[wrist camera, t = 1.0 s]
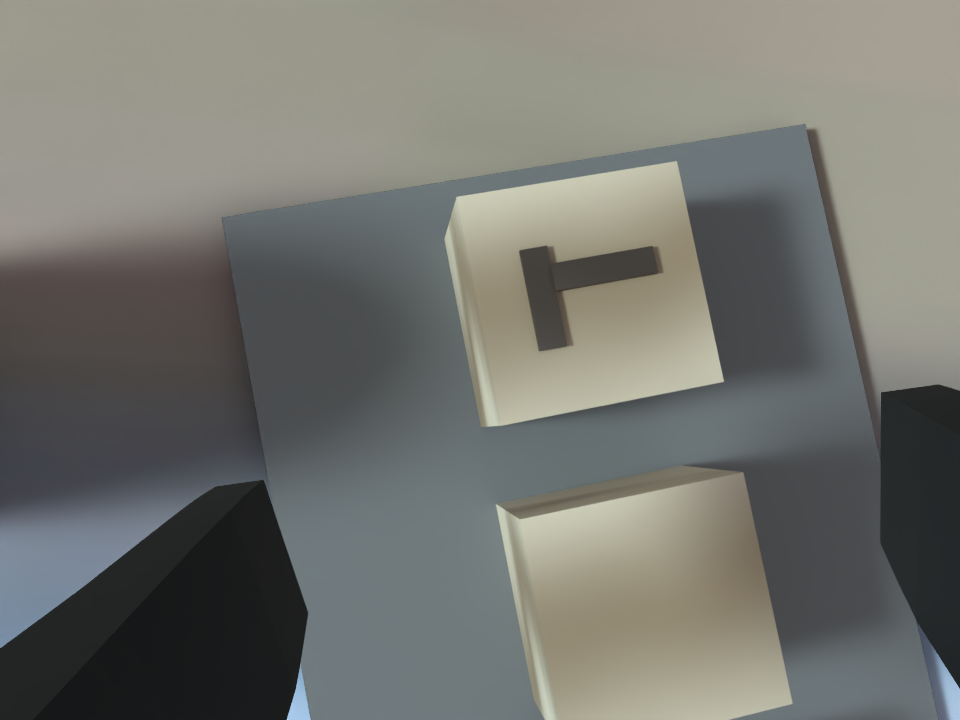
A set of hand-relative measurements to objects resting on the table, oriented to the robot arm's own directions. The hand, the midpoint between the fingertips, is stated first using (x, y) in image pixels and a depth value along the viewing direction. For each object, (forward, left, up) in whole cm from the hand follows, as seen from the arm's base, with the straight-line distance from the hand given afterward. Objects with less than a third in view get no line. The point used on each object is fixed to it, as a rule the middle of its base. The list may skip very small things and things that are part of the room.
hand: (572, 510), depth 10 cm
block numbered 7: (+3, -3, -12) cm, 13 cm away
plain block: (-4, -3, -12) cm, 13 cm away
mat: (-4, -3, -12) cm, 13 cm away
